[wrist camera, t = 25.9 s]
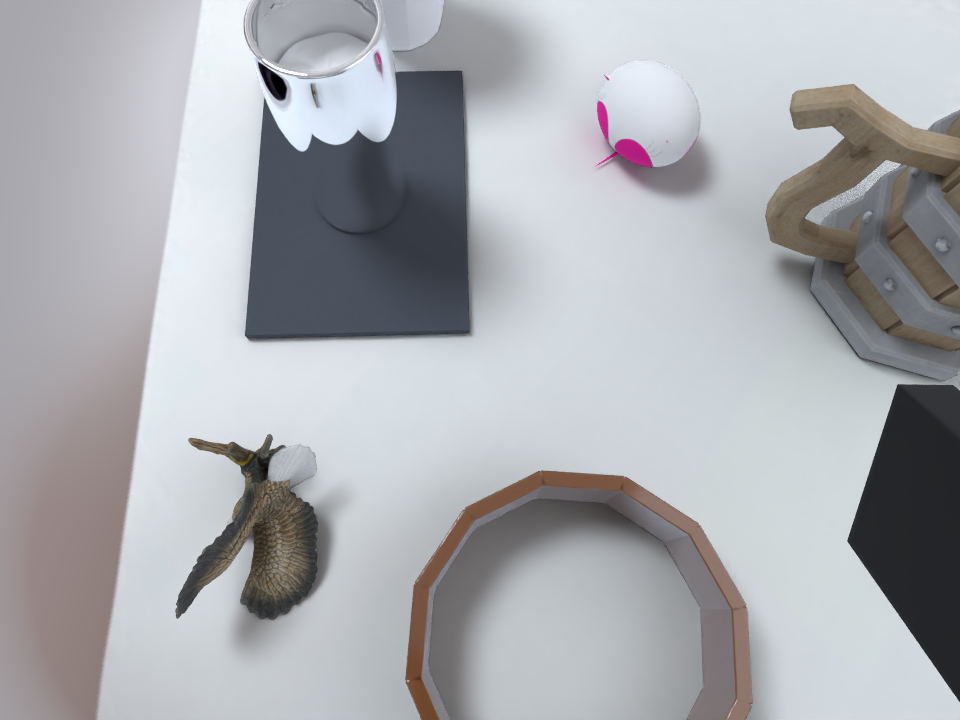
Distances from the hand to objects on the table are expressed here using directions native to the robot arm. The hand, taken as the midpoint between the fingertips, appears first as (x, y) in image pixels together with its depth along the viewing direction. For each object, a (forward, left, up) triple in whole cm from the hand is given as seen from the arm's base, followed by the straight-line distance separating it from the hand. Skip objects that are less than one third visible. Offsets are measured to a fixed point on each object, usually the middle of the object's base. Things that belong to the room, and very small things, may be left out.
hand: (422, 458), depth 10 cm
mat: (+16, +19, -32) cm, 40 cm away
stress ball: (+30, +6, -32) cm, 44 cm away
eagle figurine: (-5, +10, -32) cm, 34 cm away
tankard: (+30, -11, -32) cm, 45 cm away
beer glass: (+16, +19, -31) cm, 40 cm away
